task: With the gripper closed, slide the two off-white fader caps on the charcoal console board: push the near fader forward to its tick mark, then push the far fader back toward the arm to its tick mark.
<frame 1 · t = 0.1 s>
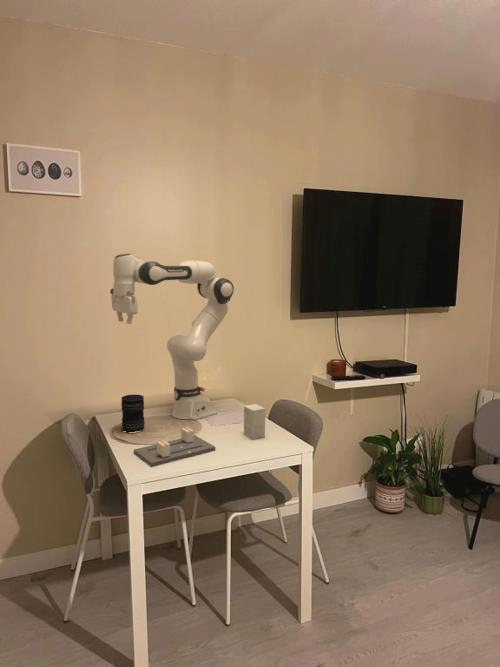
hand: (125, 322, 220), 48 cm above the table, fingers open, 8 cm apart
fader b: (163, 448, 191), point 4 cm above the table, slide at 3.0 cm
small box: (254, 436, 218), on the table
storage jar: (133, 430, 224), on the table
fader a: (187, 434, 206), point 4 cm above the table, slide at 2.0 cm
console: (175, 451, 199), on the table
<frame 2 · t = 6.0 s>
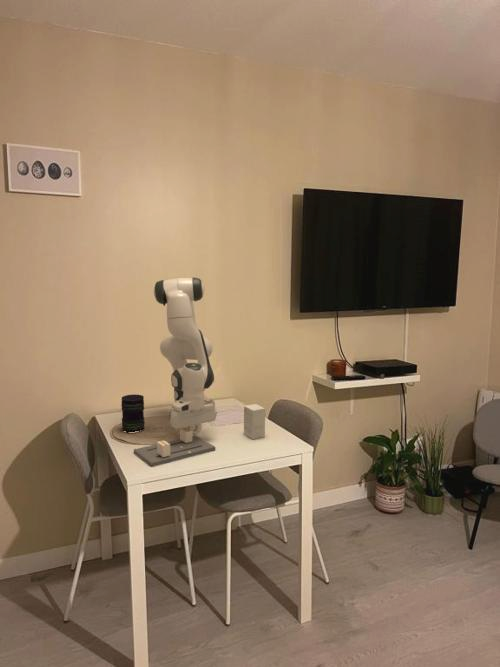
hand: (193, 434, 208), 4 cm above the table, fingers closed
fader a: (186, 435, 206), point 4 cm above the table, slide at 2.7 cm, touching gripper
everything else where it was.
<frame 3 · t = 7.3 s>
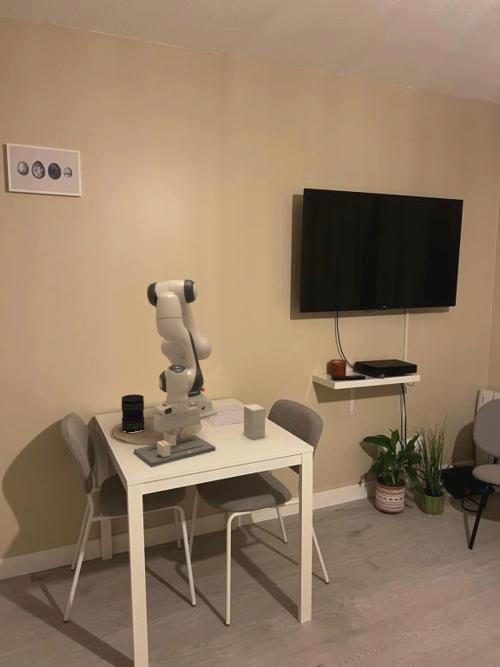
hand: (177, 438, 204), 4 cm above the table, fingers closed
fader a: (169, 438, 201), point 4 cm above the table, slide at 10.2 cm, touching gripper
everything else where it was.
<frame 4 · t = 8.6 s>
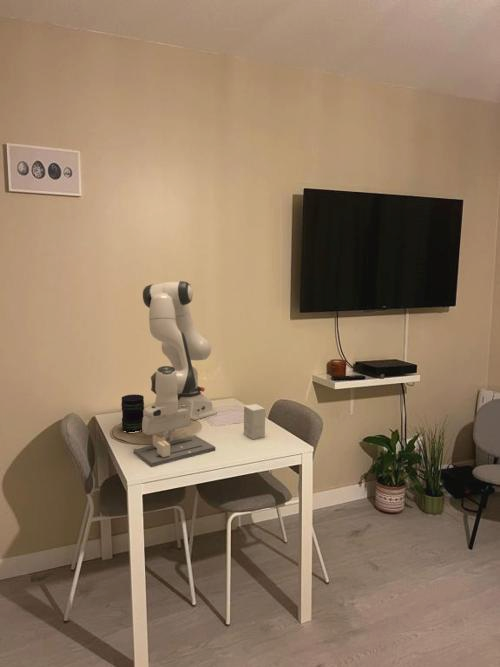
hand: (167, 440, 201), 4 cm above the table, fingers closed
fader a: (159, 441, 199), point 4 cm above the table, slide at 14.9 cm, touching gripper
everything else where it was.
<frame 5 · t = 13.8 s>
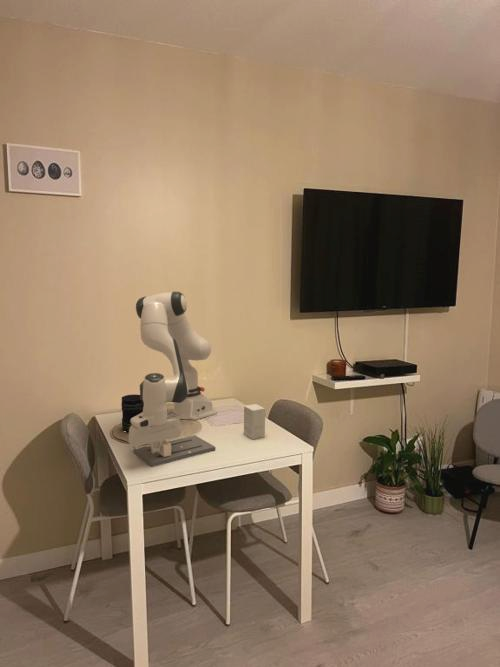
hand: (155, 452, 189), 3 cm above the table, fingers closed
fader b: (164, 448, 191), point 4 cm above the table, slide at 3.4 cm, touching gripper
fader a: (158, 441, 199), point 4 cm above the table, slide at 15.0 cm
everything else where it was.
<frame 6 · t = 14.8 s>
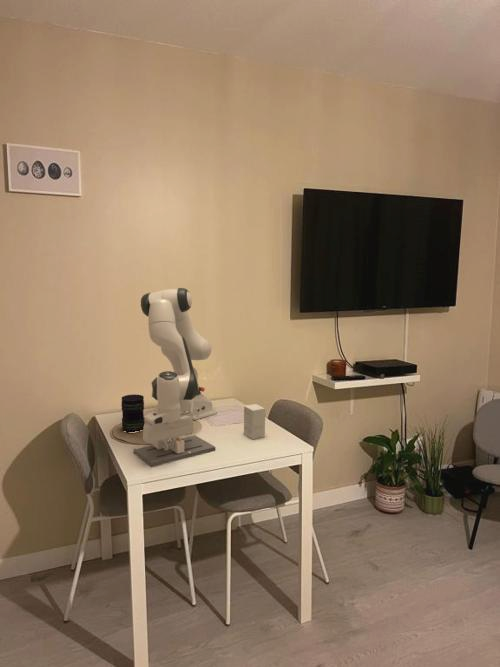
hand: (169, 448, 193), 3 cm above the table, fingers closed
fader b: (177, 445, 195), point 4 cm above the table, slide at 9.1 cm, touching gripper
everything else where it was.
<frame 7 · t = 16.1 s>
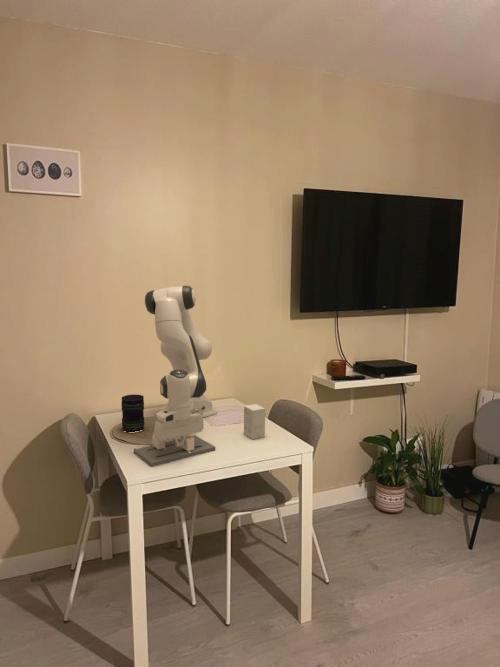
hand: (179, 446, 195), 4 cm above the table, fingers closed
fader b: (187, 442, 197), point 4 cm above the table, slide at 13.5 cm, touching gripper
everything else where it was.
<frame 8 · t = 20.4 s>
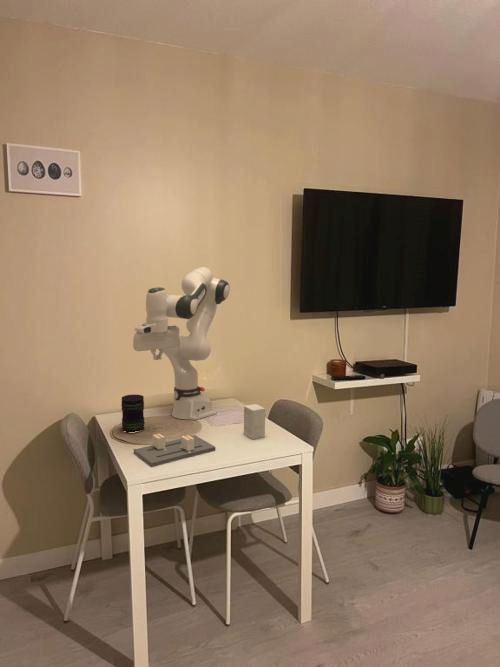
hand: (157, 359, 210), 34 cm above the table, fingers closed
fader b: (187, 442, 197), point 4 cm above the table, slide at 13.5 cm
everything else where it was.
at the end: fader a slide at 15.0 cm; fader b slide at 13.5 cm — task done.
